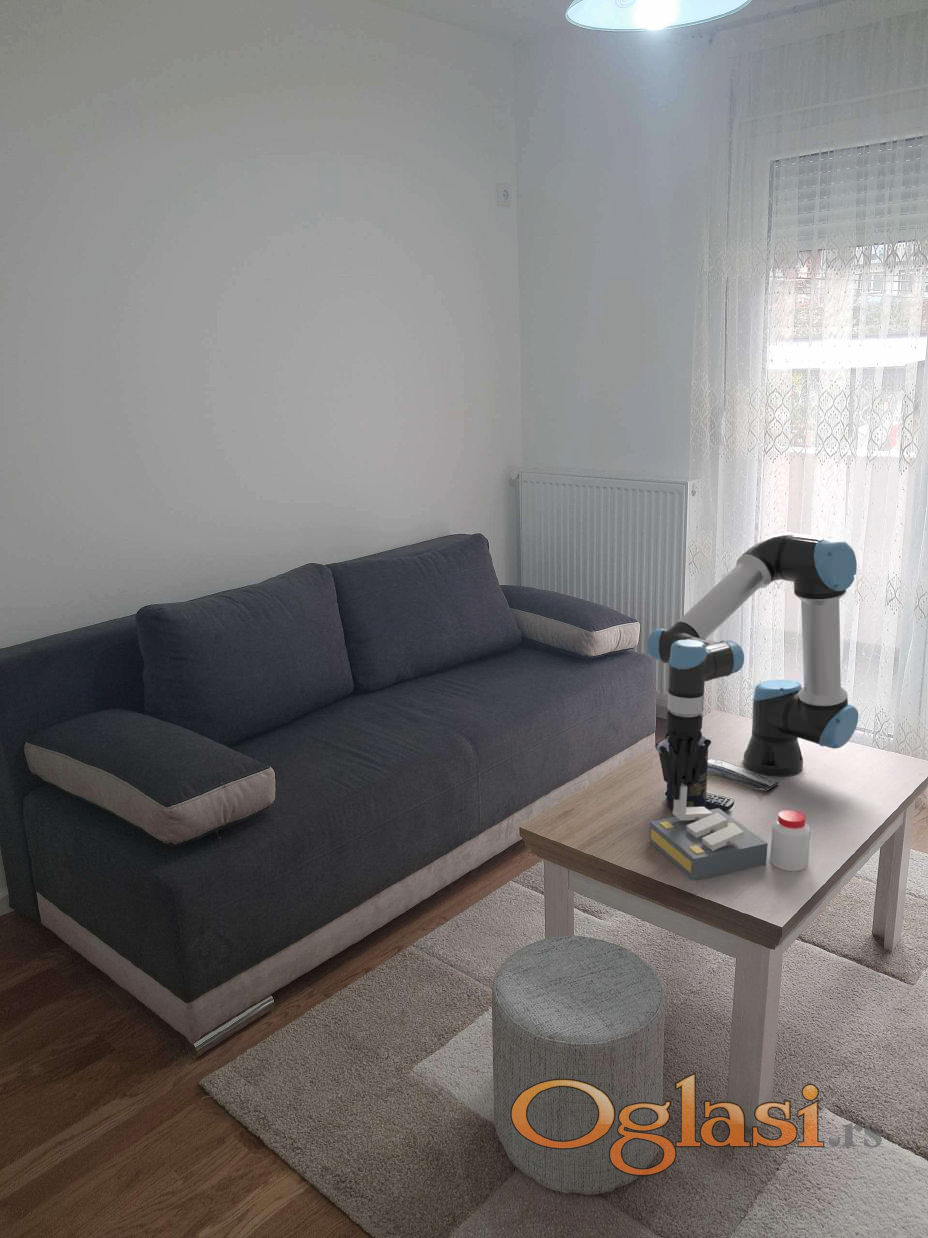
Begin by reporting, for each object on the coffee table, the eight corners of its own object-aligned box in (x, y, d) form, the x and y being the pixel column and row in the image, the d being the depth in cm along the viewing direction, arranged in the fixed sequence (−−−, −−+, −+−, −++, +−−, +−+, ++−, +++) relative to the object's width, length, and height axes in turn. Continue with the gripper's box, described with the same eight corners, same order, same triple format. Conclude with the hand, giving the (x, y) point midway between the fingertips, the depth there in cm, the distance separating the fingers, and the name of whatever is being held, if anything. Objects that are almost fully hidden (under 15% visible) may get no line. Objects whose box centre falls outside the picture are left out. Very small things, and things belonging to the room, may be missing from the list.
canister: (706, 817, 223) (709, 746, 219) (665, 814, 225) (668, 744, 220) (704, 800, 232) (708, 731, 228) (665, 797, 234) (667, 729, 230)
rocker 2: (717, 818, 208) (716, 812, 208) (728, 826, 205) (727, 820, 204) (686, 831, 206) (685, 825, 206) (697, 840, 203) (696, 833, 202)
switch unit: (717, 828, 218) (718, 807, 217) (766, 864, 202) (767, 842, 200) (648, 842, 212) (649, 821, 211) (692, 880, 196) (693, 858, 194)
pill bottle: (764, 854, 206) (767, 808, 203) (798, 852, 206) (801, 806, 203) (778, 872, 198) (781, 825, 195) (814, 870, 199) (817, 823, 196)
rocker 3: (733, 830, 203) (732, 823, 202) (745, 839, 199) (744, 832, 199) (702, 843, 201) (701, 837, 200) (713, 853, 197) (712, 846, 197)
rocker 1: (701, 813, 214) (702, 806, 214) (712, 821, 210) (713, 813, 210) (671, 814, 211) (672, 807, 211) (681, 822, 208) (682, 815, 207)
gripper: (701, 702, 209) (695, 800, 215) (649, 709, 205) (645, 809, 211) (720, 713, 202) (714, 814, 208) (667, 720, 198) (662, 823, 204)
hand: (679, 811), depth 209 cm, fingers closed
